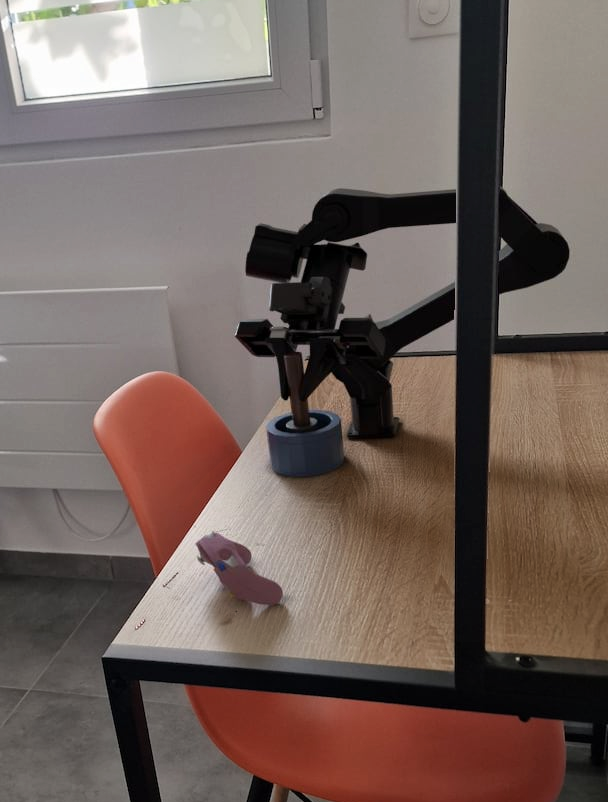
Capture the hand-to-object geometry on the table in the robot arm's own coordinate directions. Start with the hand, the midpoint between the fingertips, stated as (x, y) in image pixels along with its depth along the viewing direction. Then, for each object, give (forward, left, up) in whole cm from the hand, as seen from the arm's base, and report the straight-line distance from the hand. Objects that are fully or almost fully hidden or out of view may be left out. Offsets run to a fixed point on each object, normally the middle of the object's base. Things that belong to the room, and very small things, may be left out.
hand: (292, 399), depth 102 cm
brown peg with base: (-1, 0, -7) cm, 7 cm away
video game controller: (+29, +1, -9) cm, 31 cm away
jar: (-2, +1, -9) cm, 10 cm away
